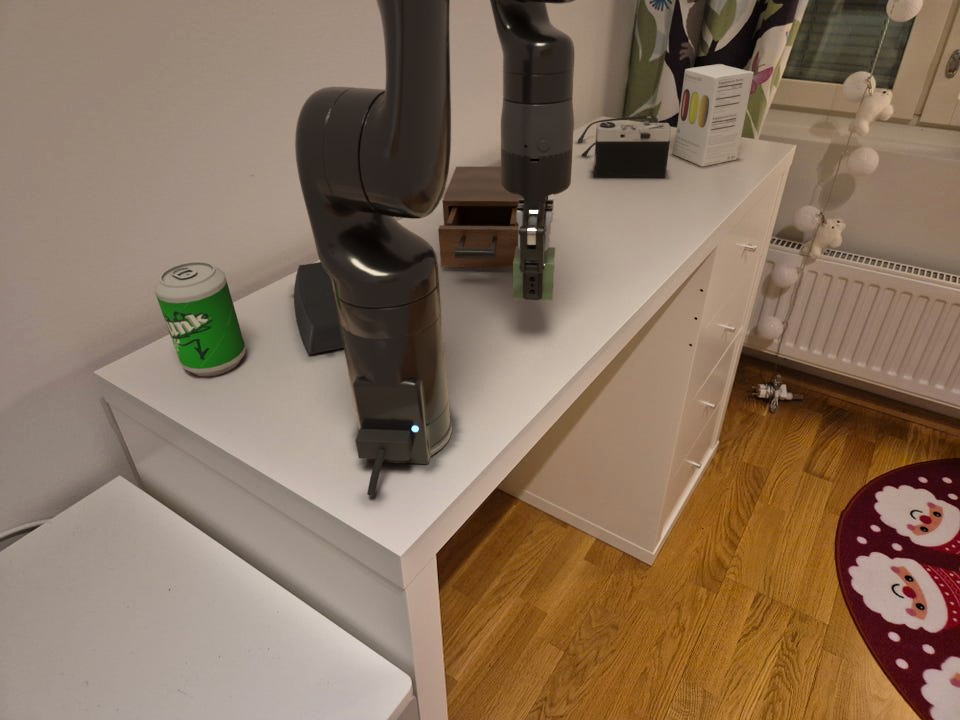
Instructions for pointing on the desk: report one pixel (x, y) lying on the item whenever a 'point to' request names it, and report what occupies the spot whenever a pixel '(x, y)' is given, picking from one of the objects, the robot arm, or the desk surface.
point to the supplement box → (712, 114)
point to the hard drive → (316, 309)
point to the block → (547, 275)
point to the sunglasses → (651, 117)
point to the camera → (631, 150)
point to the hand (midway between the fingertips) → (533, 287)
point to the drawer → (479, 236)
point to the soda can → (200, 318)
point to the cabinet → (477, 189)
